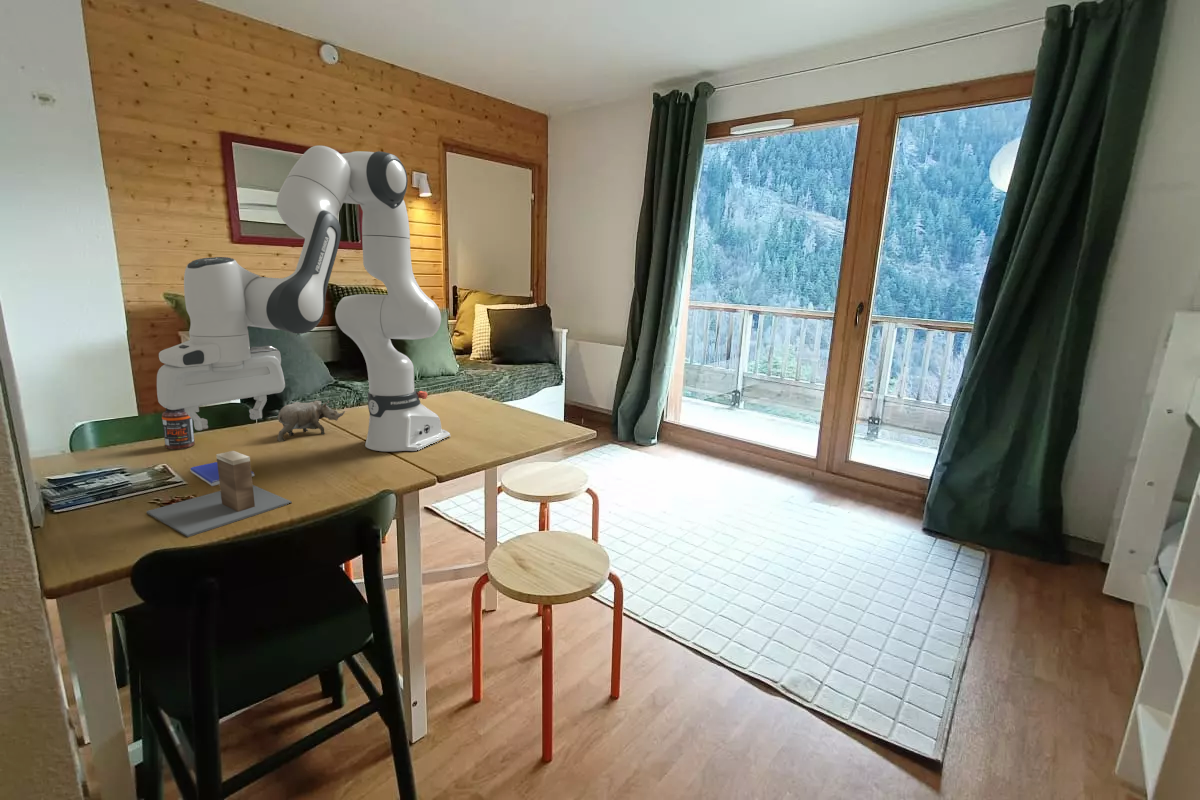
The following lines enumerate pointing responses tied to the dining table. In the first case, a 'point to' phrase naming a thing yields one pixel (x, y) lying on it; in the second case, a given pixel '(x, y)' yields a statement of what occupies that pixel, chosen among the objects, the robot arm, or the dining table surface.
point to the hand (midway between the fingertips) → (229, 423)
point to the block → (235, 480)
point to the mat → (212, 511)
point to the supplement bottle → (177, 429)
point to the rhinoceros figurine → (304, 417)
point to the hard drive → (208, 473)
